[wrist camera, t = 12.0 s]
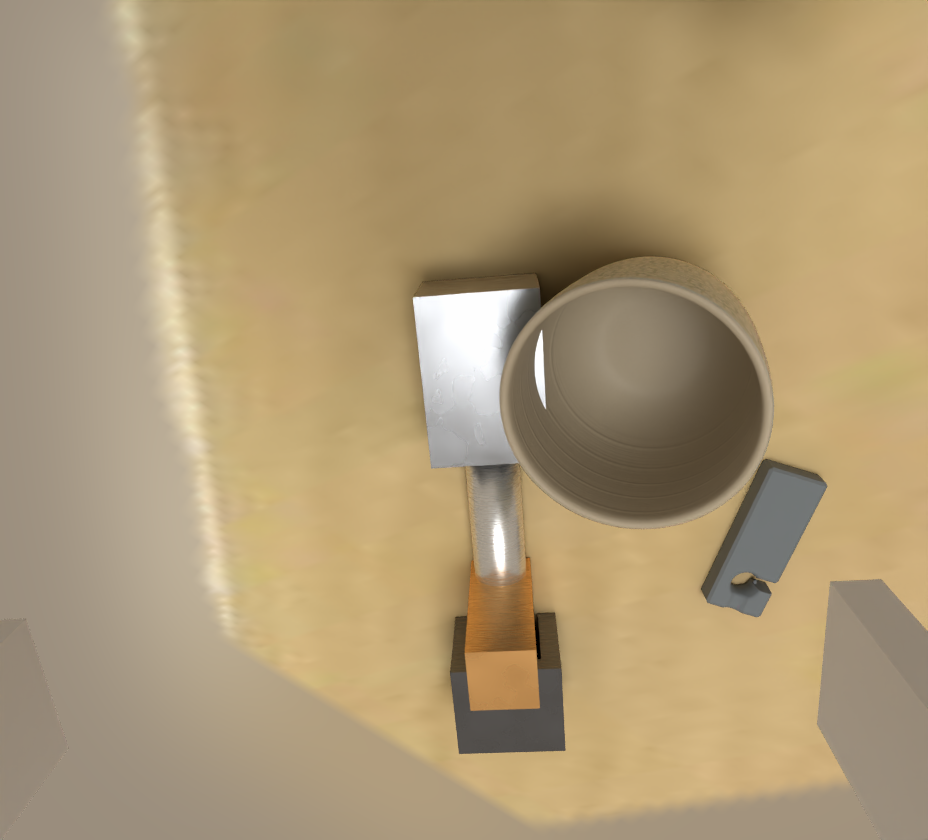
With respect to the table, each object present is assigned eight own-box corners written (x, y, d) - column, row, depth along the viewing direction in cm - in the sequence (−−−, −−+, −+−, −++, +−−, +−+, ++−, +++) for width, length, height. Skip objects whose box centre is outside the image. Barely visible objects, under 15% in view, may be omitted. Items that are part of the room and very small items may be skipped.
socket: (455, 617, 53) (450, 672, 47) (554, 612, 52) (561, 668, 47) (463, 692, 55) (459, 754, 49) (558, 688, 54) (565, 750, 49)
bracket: (818, 472, 48) (830, 485, 46) (751, 603, 52) (760, 620, 50) (760, 455, 48) (771, 467, 46) (698, 587, 52) (705, 603, 50)
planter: (669, 478, 46) (649, 575, 37) (511, 358, 47) (452, 424, 37) (818, 327, 40) (841, 397, 31) (634, 190, 41) (601, 218, 31)
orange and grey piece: (459, 427, 48) (448, 495, 38) (521, 423, 48) (526, 490, 38) (481, 671, 54) (477, 781, 45) (537, 669, 54) (544, 779, 44)
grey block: (422, 281, 45) (412, 297, 40) (535, 272, 44) (539, 287, 39) (438, 436, 48) (431, 468, 43) (543, 429, 48) (548, 461, 43)
